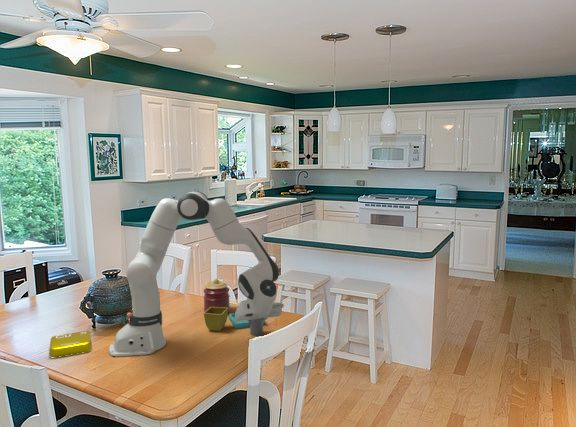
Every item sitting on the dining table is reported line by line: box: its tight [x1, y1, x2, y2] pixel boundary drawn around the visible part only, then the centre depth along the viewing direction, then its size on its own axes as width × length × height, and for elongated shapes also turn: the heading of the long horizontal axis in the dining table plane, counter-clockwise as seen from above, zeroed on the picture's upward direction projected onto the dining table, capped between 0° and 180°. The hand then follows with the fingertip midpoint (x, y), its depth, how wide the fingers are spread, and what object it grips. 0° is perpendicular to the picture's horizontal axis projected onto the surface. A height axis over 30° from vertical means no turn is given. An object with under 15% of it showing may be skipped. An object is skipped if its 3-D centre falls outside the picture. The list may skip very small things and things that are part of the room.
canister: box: [203, 278, 231, 314], centre depth 226 cm, size 13×13×18 cm
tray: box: [228, 312, 266, 330], centre depth 214 cm, size 14×14×2 cm
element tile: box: [49, 330, 92, 357], centre depth 186 cm, size 15×15×5 cm
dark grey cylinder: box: [249, 318, 264, 337], centre depth 200 cm, size 6×6×11 cm
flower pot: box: [203, 307, 229, 332], centre depth 205 cm, size 9×9×9 cm
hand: (256, 320), depth 200 cm, fingers closed on dark grey cylinder, 6 cm apart
